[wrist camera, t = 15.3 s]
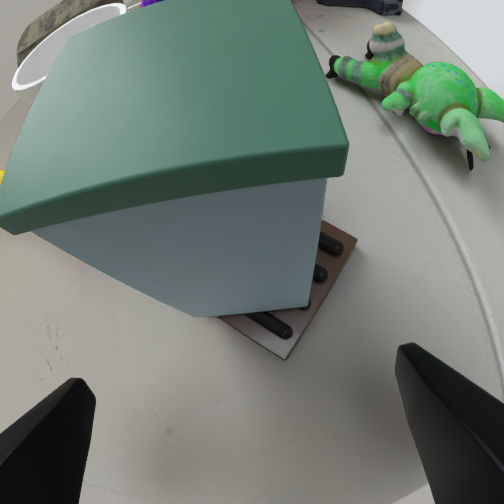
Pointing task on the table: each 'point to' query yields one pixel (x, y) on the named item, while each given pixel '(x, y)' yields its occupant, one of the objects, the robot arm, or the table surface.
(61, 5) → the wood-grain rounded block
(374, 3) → the handgun
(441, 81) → the toy
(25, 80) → the mug
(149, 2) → the toy
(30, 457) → the robot arm
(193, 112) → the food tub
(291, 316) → the dish rack
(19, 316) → the table surface
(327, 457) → the table surface
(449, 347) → the table surface
